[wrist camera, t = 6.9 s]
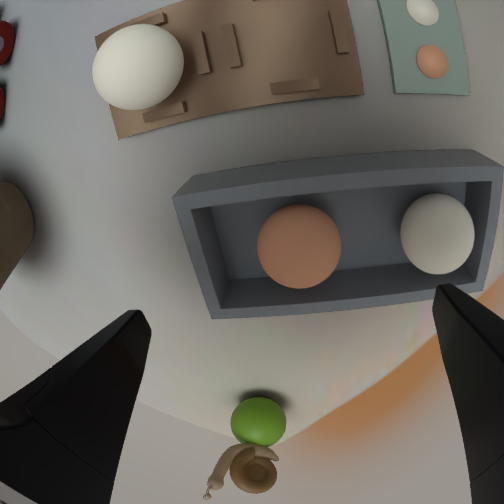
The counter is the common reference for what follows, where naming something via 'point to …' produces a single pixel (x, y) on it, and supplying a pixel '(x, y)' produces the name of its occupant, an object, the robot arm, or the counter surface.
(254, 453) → the snail figurine
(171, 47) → the ball ivory rack
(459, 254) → the ball ivory trough
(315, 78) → the rack
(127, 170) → the counter surface
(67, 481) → the robot arm
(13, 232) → the flower pot
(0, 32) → the toy fire truck
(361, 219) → the trough
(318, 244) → the ball terracotta
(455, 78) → the card
